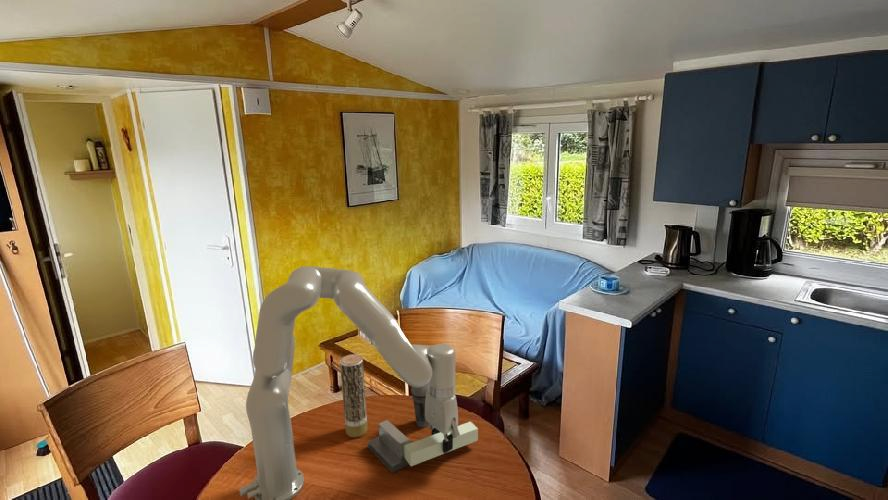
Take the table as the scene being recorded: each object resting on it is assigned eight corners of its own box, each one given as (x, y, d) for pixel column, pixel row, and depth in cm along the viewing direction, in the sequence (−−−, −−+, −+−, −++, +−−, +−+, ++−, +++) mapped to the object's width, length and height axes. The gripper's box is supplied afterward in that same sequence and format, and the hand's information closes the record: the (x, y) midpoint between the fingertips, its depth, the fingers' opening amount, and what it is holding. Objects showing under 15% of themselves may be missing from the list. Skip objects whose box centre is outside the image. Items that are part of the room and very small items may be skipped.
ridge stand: (392, 473, 121) (391, 451, 120) (367, 447, 132) (366, 426, 130) (422, 457, 127) (421, 436, 126) (396, 433, 138) (395, 413, 136)
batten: (410, 466, 119) (410, 453, 118) (404, 457, 123) (404, 445, 122) (477, 440, 130) (478, 428, 129) (470, 433, 133) (470, 421, 133)
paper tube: (370, 425, 142) (365, 354, 137) (364, 439, 136) (358, 365, 130) (349, 424, 143) (343, 354, 137) (342, 438, 136) (336, 364, 131)
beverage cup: (408, 428, 141) (406, 371, 136) (416, 415, 147) (414, 360, 143) (430, 431, 138) (428, 374, 134) (437, 418, 145) (435, 363, 141)
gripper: (413, 380, 126) (414, 436, 130) (450, 406, 113) (450, 468, 117) (434, 372, 131) (434, 427, 135) (472, 396, 118) (471, 456, 122)
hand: (442, 445), depth 126 cm, fingers closed on batten, 4 cm apart
